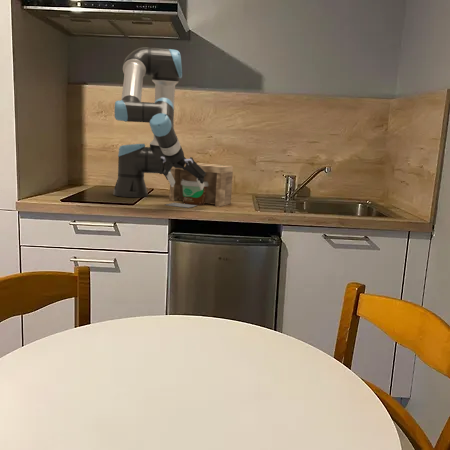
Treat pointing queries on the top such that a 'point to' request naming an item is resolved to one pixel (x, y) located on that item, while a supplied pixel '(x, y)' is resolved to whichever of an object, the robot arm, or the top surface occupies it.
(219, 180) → the open oak shelf box
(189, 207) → the grey mat
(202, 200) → the food container
